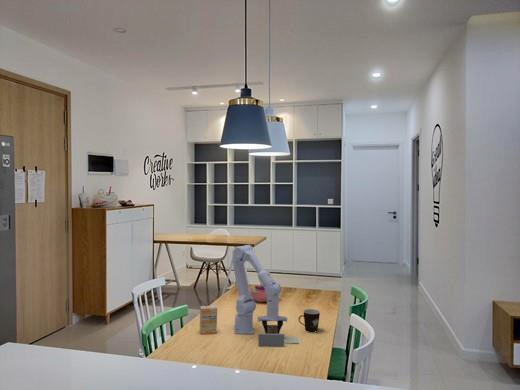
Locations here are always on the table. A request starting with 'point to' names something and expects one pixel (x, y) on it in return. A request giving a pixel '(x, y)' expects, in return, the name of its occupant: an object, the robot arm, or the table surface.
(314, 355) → the table surface
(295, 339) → the pad
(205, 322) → the supplement box
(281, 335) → the screen
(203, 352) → the table surface
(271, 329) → the walnut block
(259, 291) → the cell model
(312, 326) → the coffee mug
